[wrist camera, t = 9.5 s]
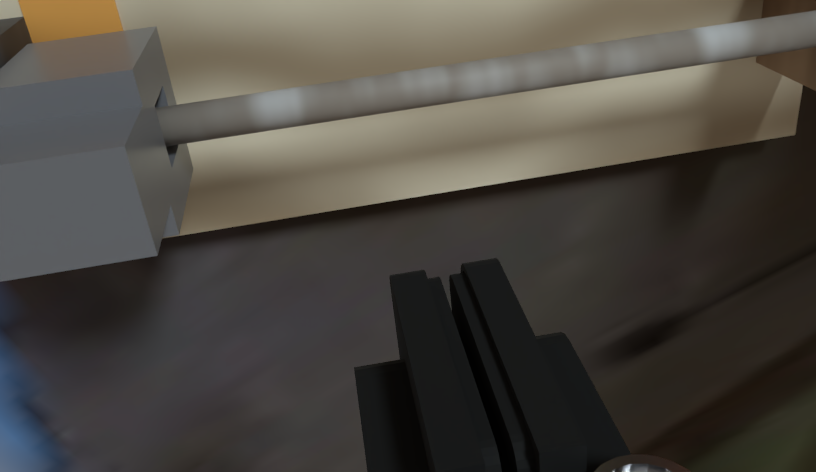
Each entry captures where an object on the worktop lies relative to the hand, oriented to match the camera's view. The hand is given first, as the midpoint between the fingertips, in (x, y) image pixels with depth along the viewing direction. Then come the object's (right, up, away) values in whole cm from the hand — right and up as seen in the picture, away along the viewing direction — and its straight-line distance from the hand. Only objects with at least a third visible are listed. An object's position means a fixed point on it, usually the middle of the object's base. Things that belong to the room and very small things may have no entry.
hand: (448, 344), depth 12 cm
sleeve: (-10, +6, +13) cm, 18 cm away
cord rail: (-2, +9, +17) cm, 20 cm away
